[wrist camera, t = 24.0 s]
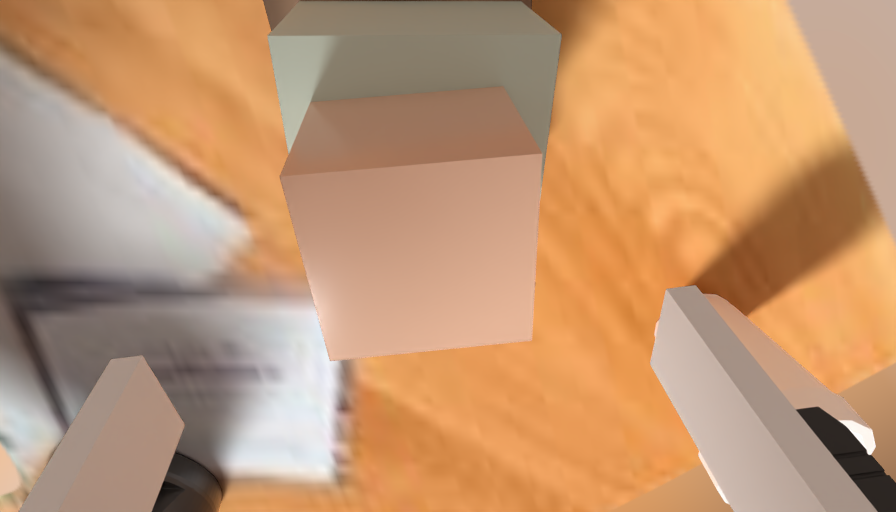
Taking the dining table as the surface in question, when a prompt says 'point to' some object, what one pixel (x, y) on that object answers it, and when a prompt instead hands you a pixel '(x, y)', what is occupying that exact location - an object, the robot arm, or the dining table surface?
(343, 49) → the sage brick
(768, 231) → the dining table surface
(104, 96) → the dining table surface
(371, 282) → the beige cube
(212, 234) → the dining table surface
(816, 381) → the foam cup
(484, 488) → the dining table surface
